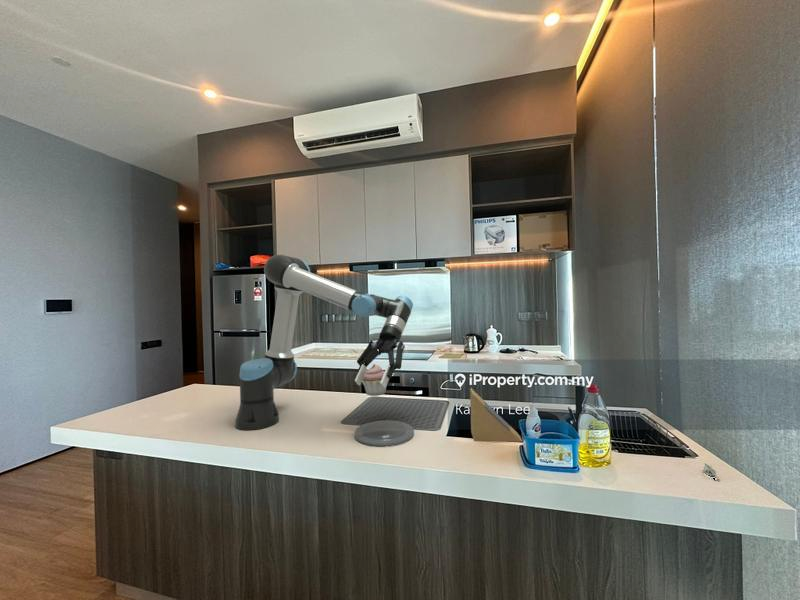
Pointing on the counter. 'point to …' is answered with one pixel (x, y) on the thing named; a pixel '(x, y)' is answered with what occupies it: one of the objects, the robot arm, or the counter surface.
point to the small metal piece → (710, 470)
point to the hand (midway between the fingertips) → (369, 384)
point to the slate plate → (384, 433)
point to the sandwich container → (489, 423)
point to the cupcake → (374, 381)
